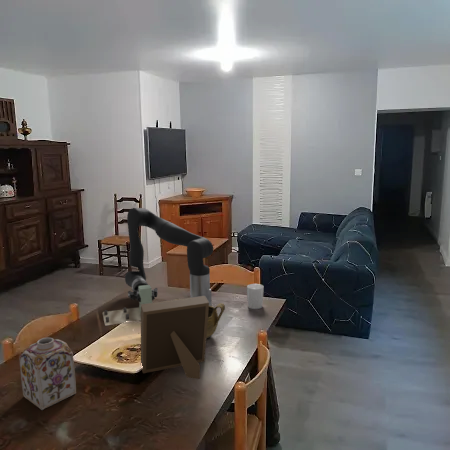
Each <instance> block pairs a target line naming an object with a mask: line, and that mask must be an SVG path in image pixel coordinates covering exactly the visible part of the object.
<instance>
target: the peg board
mask: <svg viewBox="0 0 450 450" xmlns="http://www.w3.org/2000/svg"><path fill="white" fill-rule="evenodd" d="M102 317H103V321H104V326H112V325H120V324H125V323H124V322H126V321H135V322H141V313H140V307H139V306H138V307H131V308H127V307H126V306H125V307H123V308H122V309H117V310H109V311H108V310H107V309H104V310H103V311H102Z"/></svg>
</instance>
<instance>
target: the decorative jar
mask: <svg viewBox="0 0 450 450" xmlns="http://www.w3.org/2000/svg"><path fill="white" fill-rule="evenodd" d="M19 370H20V379H21V381H20V382H21V387H22V388H21V389H22V395H23V397H24V398H25V399H26V400H28V401H29V402H30V403H32V404H33V405H34V406H36V407H37V408H39V410H41V411H43V410H45V409H47V408H49V407H51V406H53V405H55V404H58V403H60V402H61V401H63V400H66V399H67V398H69V397H70V398H71V397H72V396H73V395H74V396H75V394H77V385H76V384H77V383H76V371H75V370H76V369H75V362H74V352H73V351H72V348H70V347H69V345H68V343H67V342H65V341H63V340H61V339H58V338H57V339H54V338H53V337H43V338H40V339H38V340H37V342H35V343H32V344H30V345H29V346H28V347H27V348H26V349H24V351H23V352H22V353H21V354H20V356H19Z"/></svg>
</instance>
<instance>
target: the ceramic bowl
mask: <svg viewBox="0 0 450 450" xmlns="http://www.w3.org/2000/svg"><path fill="white" fill-rule="evenodd" d="M177 299H179V298H175V299H174V300H177ZM218 308H219V309H220V312H219V315H218V310H217V309H218ZM225 310H226V306H225V304H224V303H222V302H220V303H218V304H216V306H215V307H214V306H209V311H208V323H207V336H206V340H207V339H208V338H210V337H211V336H212V335H213V334H214V333H215V332H216V330H217V328H218V324H219V321H220V320H221V317H222V316H223V313H224V311H225Z"/></svg>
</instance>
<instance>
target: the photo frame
mask: <svg viewBox="0 0 450 450" xmlns="http://www.w3.org/2000/svg"><path fill="white" fill-rule="evenodd" d="M176 299H177V298H176ZM208 311H209V302H208V300H207V298H206V297H205V296H199V297H192V298H190V297H185V298H178V299H177V300H175V299H171V300H165V301H157V302H156V301H155V302H152V303H148V304H141V321H140V364H141V363H142V366H143V369H142V368H141V371H142V374H146V373H147V374H149V373H153V372H156V371H162V370H167V369H173V368H174V369H175V368H179V367H182V369H183V372H184V374H185V377H186V379H197V380H200V378H201V365H200V363H203V362H206V361H205V359H206V348H207V339H206V336H207V323H208Z"/></svg>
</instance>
